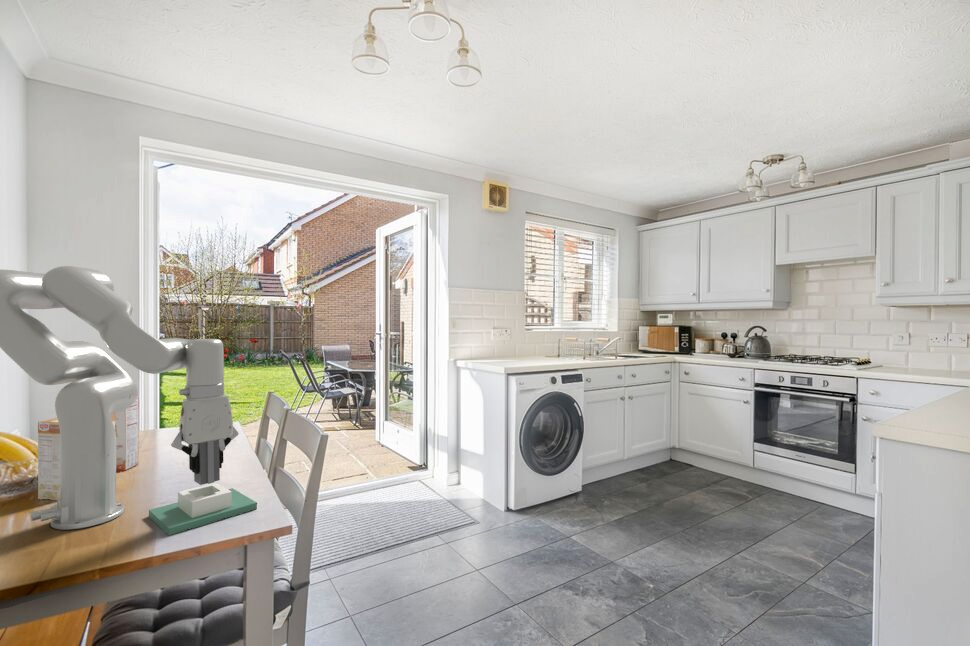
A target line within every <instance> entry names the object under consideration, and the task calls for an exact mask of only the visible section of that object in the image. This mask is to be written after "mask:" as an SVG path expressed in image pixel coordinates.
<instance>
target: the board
mask: <svg viewBox="0 0 970 646" xmlns="http://www.w3.org/2000/svg"><path fill="white" fill-rule="evenodd" d="M227 489H228V490H230V491H231V492H232V507H229V508H225V509H222V510H218V511H215V512H211V513H208V514H204V515H201V516H197V517H194V518H191V517H190V516H189V515H188V514H186V513H185V512H184V511H183V510H181V509H180V508H179V507H178V501H177V502H174V503H170V504H167V505H163V506H159V507H155V508H150V509H148V517H149V518H150V520H152V521H153V522H154V523H155V524H156V523H157V524H156V525H157V526H158V525H159V528H161V529H162V530H163V531H164V532H165V533H166V534H167V535H168V536H172V534H173V535H176V534H178V533H182V532H184V531H185V530H186V531H188V530H187V529H189V530H191V528H192V529H195V528H194V527H196V528H198V527H202V526H205V525H210V524H213V523H214V522H218V520H219V521H221V519H222V520H224V519H223V518H225V519H228V518H227V517H229V518H231V517H230V516H232V517H234V515H235V516H238V515H241V514H240V513H242V514H244V512H245V513H247V511H248V512H251V510H252V511H255V510H257V509H258V502H256V501H255V500H253V499H251V498H250V497H248V496H247V495H245V494H243V493H241V492H240V491H238V490H236V489H234V488H233V487H231V488H227ZM254 509H255V510H254ZM237 514H238V515H237ZM181 531H182V532H181ZM186 531H185V532H186Z"/></svg>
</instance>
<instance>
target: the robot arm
mask: <svg viewBox="0 0 970 646" xmlns="http://www.w3.org/2000/svg"><path fill="white" fill-rule="evenodd" d="M114 286H115V285H114V283H113V281H112V280H111V278H110V277H109V276H108V275H106V273H104V272H102V271H99V270H98V269H92V268H86V267H81V266H80V267H78V266H72V265H71V266H70V265H63V266H58V267H54V268H52V269H50V270H48V271H47V272H45V273H38V272H30V271H20V270H13V269H0V349H1V350H2V351H3V352H4V353H5V354H6V355H7V356H8V357H9V358H10V359H11V360H12V361H13V362H14V363H15V364H16V365H17V366H18V367H20V369H22V370H23V371H24V372H25V373H26V374H27V375H28V376H29V377H30V378H31V379H32V380H33V381H35V382H37V383H38V384H41V385H45V386H57V385H62V384H66V385H64V386H63V387H62V388H61V390H59V392H58V394H57V396H56V397H55V402H54V407H55V408H54V409H55V413H56V414H55V415H56V418H57V419H58V423H59V428H60V442H61V500H56V504H54V505H51V506H50V507H49V508H45V509H39V510H33V511H31V512H30V522H33V521H38V520H40V522H44V521H49V520H50V526H51V527H52V528H53V529H55V530H63V531H65V530H79V529H85V528H89V527H93V526H96V525H100V524H104V523H106V522H109V521H112V520H114V519H116V518H118V517H119V516H121V515H122V514H123V513H124V512H125V505H124V503H122V502H118V501H117V471H116V432H115V428H114V425H113V423H112V420H111V417H110V415H111V414H114V413H117V412H120V411H123V410H125V409H127V408H129V407H130V406H131V405H132V404H133V403H134V402H135V401H136V399H137V398H138V394H139V391H138V385H137V384H136V382H135V380H134V379H133V377H132V376H131V375H130V374H129V373H128V372H127V371H125V370H124V369H123V368H122V367H121V366H120V364H118V363H117V362H116V361H115V360H114V359H113V358H112V356H110V355H109V354H108V353H107V352H105V350H103V349H102V348H101V347H99V346H98V345H96V344H94V343H92V342H88V341H84V340H83V341H82V340H81V341H80V340H73V341H72V340H71V341H66V340H62V339H61V338H60V337H58V336H57V335H56V334H55V333H54V332H53V331H51V330H50V329H49V328H48V327H47V325H46V324H44V323H42V321H40V320H39V319H37V318H36V317H34V316H32V315H30V314H29V313H27V312H25V311H24V309H25V310H49V309H50V310H52V309H63V308H64V309H66V310H67V311H69V312H71V313H72V314H73V315H74V316H77V318H80V319H81V320H82V321H84V322H85V323H86V324H88V325H89V326H91V327H92V328H94V329H95V330H96V331H98V333H99V335H100V338H101V339H102V341H103V342H104V344H105V345H106V346H107V348H108V349H109V350H110V351H111V353H113V354H114V355H116V356H117V357H118V358H120V359H121V360H122V361H124V362H126V363H127V364H129V365H130V366H132V367H134V368H135V369H137V370H139V371H141V372H143V373H147V374H152V375H157V374H163V373H167V372H172V371H176V370H184V369H185V370H186V371H185V375H186V376H185V379H186V380H185V382H186V385H185V387H184V388H182V389H178V390H179V391H178V393H179V396H185V397H186V398H183V401H182V405H181V410H180V417H179V428H178V429H179V432H178V433H177V434H176V436H175V438H174V439H173V441H172V442H171V443H170V446H171V448H173V449H177V450H179V451H182V452H184V453H185V454H187V455H188V456H189V457H188V458H189V459H188V462H189V464H188V468H189V470H190V471H191V472H192V473H193V474H194V473H195V474H198V473H199V472H200V466H199V456H198V453H197V452H198V446H199V443H204V442H208V441H212V440H214V441H215V440H219V467H220V469H222V467H223V466H222V464H223V463H224V451H225V450H226V447H228V445H229V444H231V442H232V440H234V439H235V438H236V437H238V436H239V431H238V430H237V429H236V428H235V426H234V424H233V423H234V422H233V413H232V407H231V402H230V398H229V395H227V394H225V372H224V371H225V369H224V368H225V365H224V364H225V363H224V362H225V359H224V355H225V353H224V343H223V341H222V340H221V339H218V338H198V339H197V338H193V339H190V338H189V339H188V338H182V337H181V338H179V337H170V338H169V337H168V338H156V337H155V336H154V335H152V334H150V333H148V332H147V331H146V330H145V329H143V328H142V327H141V326H139V325H138V324H136V323H135V321H134V320H133V319H132V318H131V316H132V314H133V311H134V309H133V308H134V307H133V305H132V303H131V302H129V300H127V299H125V298H123V297H122V296H121V295H119V294H118V293H116V292H115V287H114ZM182 442H184V443H186V444H187V445H186V444H183V443H182Z"/></svg>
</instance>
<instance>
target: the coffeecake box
mask: <svg viewBox="0 0 970 646" xmlns="http://www.w3.org/2000/svg"><path fill="white" fill-rule="evenodd" d="M110 417H111V420H112V423H113V425H114V428H115V413H114V414H111V415H110ZM37 499H38V500H42V499H50V500H49V501H59V500H61V442H60V428H59V423H58V419H57V417H54V418H49V419H44V420H40V421H37Z"/></svg>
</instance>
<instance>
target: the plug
mask: <svg viewBox="0 0 970 646" xmlns="http://www.w3.org/2000/svg"><path fill="white" fill-rule="evenodd" d="M197 453H198V456H199V466H200V472H199V473H198V474H195V473H194V472H193V478H194V480H193V481H194V482H195V483H196V484H197V485H200V486H204V485H208V484H212V483H216V482H218V481H220V480H221V479H220V478H221V476H220V475H221V474H220V472H221V471H220V470H221V468H220V467H219V440H215V441H214V440H212V441H208V442H204V443H199V446H198V452H197Z"/></svg>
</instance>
